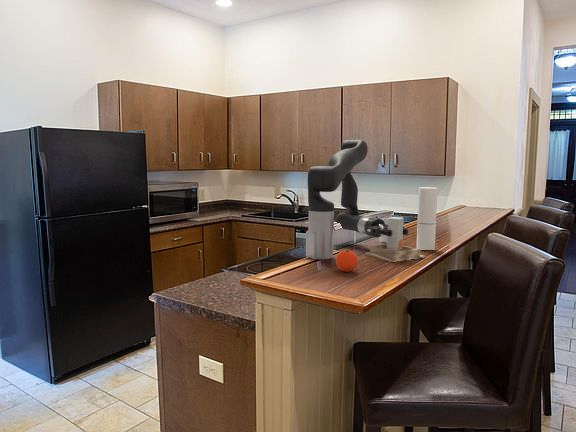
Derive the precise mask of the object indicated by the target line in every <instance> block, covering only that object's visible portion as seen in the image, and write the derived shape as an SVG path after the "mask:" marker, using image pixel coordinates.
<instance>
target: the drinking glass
mask: <svg viewBox="0 0 576 432" xmlns="http://www.w3.org/2000/svg"><path fill="white" fill-rule="evenodd" d="M380 219H382V220H383V221H384V222H385V224H388V217H385V218H382V217H381V218H380ZM379 242H380V243H386V244H387V236H386V235H383V236H381V237H379Z"/></svg>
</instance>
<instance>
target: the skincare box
mask: <svg viewBox="0 0 576 432" xmlns="http://www.w3.org/2000/svg"><path fill="white" fill-rule="evenodd" d="M387 218H388V217H387ZM404 220H405V219H404V217H400V216H390V217H389V218H388V230H391V231H392V236H387V243H386V244H387V250H392V251H398V250H400V249H402V245H403V244H404V243H403V241H404V238H403V237H404V235H403V226H404V223H405V222H404Z"/></svg>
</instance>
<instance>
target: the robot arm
mask: <svg viewBox="0 0 576 432" xmlns="http://www.w3.org/2000/svg"><path fill="white" fill-rule="evenodd" d="M368 150H369V149H368V144H367V142H366V141H365V140H363V139H345V140H343V141H342V142H341V145H340V150H338V151H337V152H336V153H334V154H333V155H332V156H331V157H330V159H329V161H328V166H327V165H326V166H325V165H324V166H323V165H317V166H316V165H315V166H311V167H309V170H308V172H307V203H308V230H306V232H305V257H307V258H310V259H312V260H329V259H333V257H334V229H335V227H334V225H335V222H337V223H340V224H341V226H342V228H343V229H342V230H348V231H353V232H356V233H359V234H363V235H365V236H368V237H369V236H370V237H372V238H380V237H381V236H383V235H386V236H392V231H391V230H388V224H385V222H384V221H383V220H382V219H381V218H379V217H372V216H363V215H360V213H359V207H358V197H359V196H358V195H359V189H358V185H357V182H356V181H355V178H354V177H353V175H352V172H351V171H352V170H353V169H354V168H355V167H356V166H357V165H359V164H360V163H361V162H363V161H364V160H365V159H366V157H367V154H368V152H369V151H368ZM340 185H341V195H340V205H341V207H343V208H344V209H346V211H347V212H340V213H338V214H337V215H336V216H335V203H334V202H333V201H331V200H327V199H326V198H324V197H323V196H322V195H321V192H322V193H332V192H336V190H337V189H338V188H339V187H340ZM408 235H409V228H405V226H404V225H403V236H408Z"/></svg>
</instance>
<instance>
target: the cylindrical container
mask: <svg viewBox="0 0 576 432" xmlns="http://www.w3.org/2000/svg"><path fill="white" fill-rule="evenodd" d="M438 191H439V189H438V187H427V186H426V187H424V186H423V187H418V202H417V203H418V205H417V223H416V225H417V226H416V229H417V231H416V247H415V248H416V249H420V251H422V250H434V251H435V249H436V231H437V230H436V229H437V212H438V211H437V209H438V208H437V207H438V206H437V205H438Z"/></svg>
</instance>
